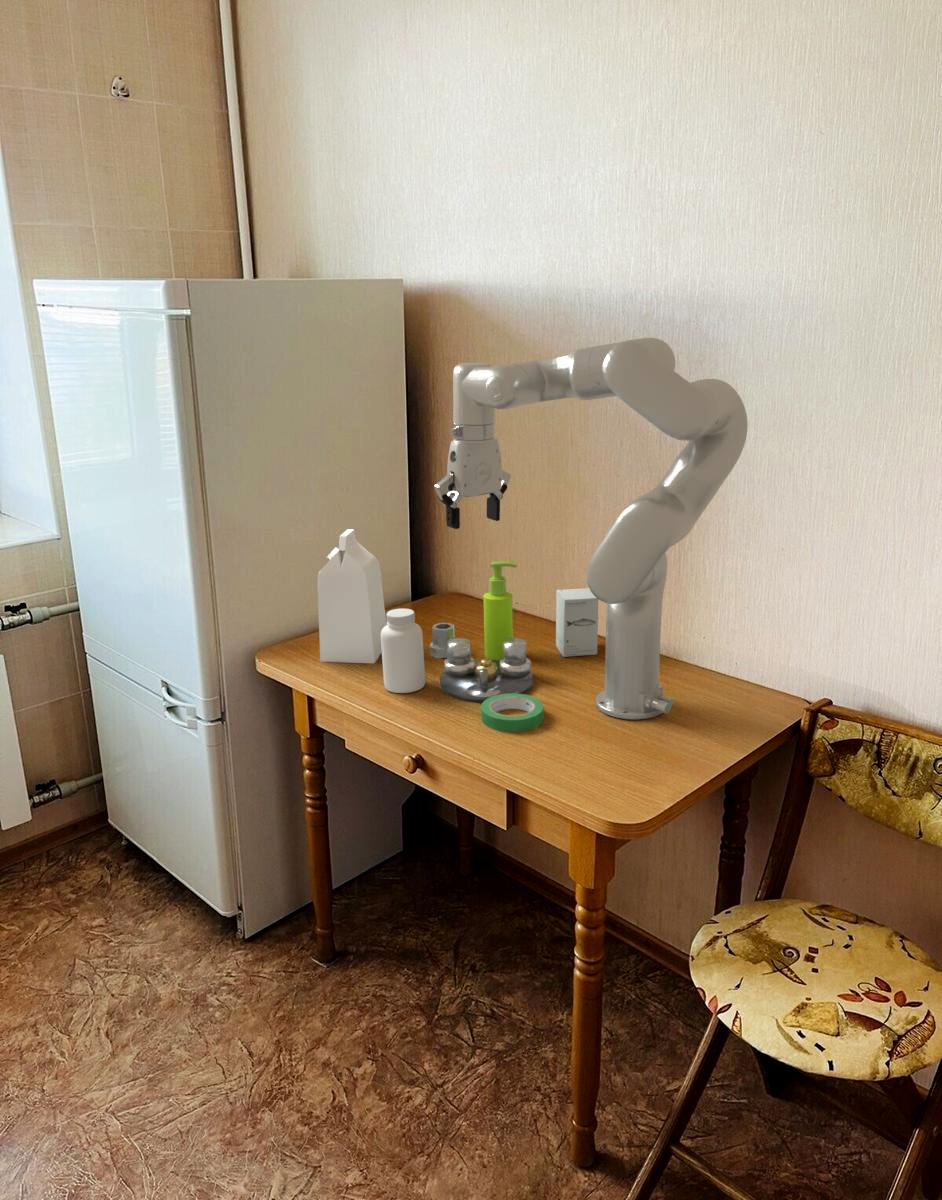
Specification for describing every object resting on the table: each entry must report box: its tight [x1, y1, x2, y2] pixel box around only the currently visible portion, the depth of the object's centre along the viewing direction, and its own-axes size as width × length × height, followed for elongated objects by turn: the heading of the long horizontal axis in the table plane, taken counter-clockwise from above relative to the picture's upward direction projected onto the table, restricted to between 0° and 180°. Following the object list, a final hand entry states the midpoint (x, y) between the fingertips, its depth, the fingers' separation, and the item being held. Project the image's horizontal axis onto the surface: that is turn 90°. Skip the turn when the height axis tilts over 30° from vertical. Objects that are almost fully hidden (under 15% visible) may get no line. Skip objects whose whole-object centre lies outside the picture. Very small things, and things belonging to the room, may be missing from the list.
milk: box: [316, 528, 387, 664], centre depth 198 cm, size 12×12×26 cm
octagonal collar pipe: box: [429, 622, 456, 659], centre depth 199 cm, size 6×6×6 cm
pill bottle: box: [381, 608, 426, 694], centre depth 181 cm, size 8×8×15 cm
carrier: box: [439, 637, 534, 703], centre depth 183 cm, size 18×18×7 cm
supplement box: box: [555, 587, 599, 658], centre depth 197 cm, size 7×7×13 cm
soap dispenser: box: [483, 560, 518, 660], centre depth 195 cm, size 6×7×20 cm
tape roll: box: [480, 693, 545, 733], centre depth 168 cm, size 11×11×3 cm
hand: (473, 523), depth 180 cm, fingers open, 9 cm apart
